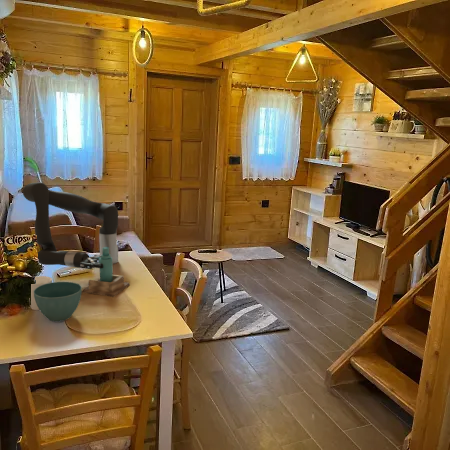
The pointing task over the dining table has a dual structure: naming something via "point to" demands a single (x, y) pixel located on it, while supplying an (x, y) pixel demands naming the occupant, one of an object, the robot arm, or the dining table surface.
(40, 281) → the candle holder
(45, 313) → the teal bowl
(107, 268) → the bottle
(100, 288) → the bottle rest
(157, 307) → the dining table surface
